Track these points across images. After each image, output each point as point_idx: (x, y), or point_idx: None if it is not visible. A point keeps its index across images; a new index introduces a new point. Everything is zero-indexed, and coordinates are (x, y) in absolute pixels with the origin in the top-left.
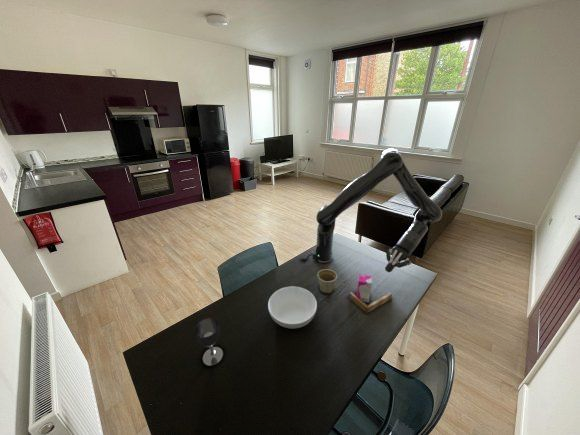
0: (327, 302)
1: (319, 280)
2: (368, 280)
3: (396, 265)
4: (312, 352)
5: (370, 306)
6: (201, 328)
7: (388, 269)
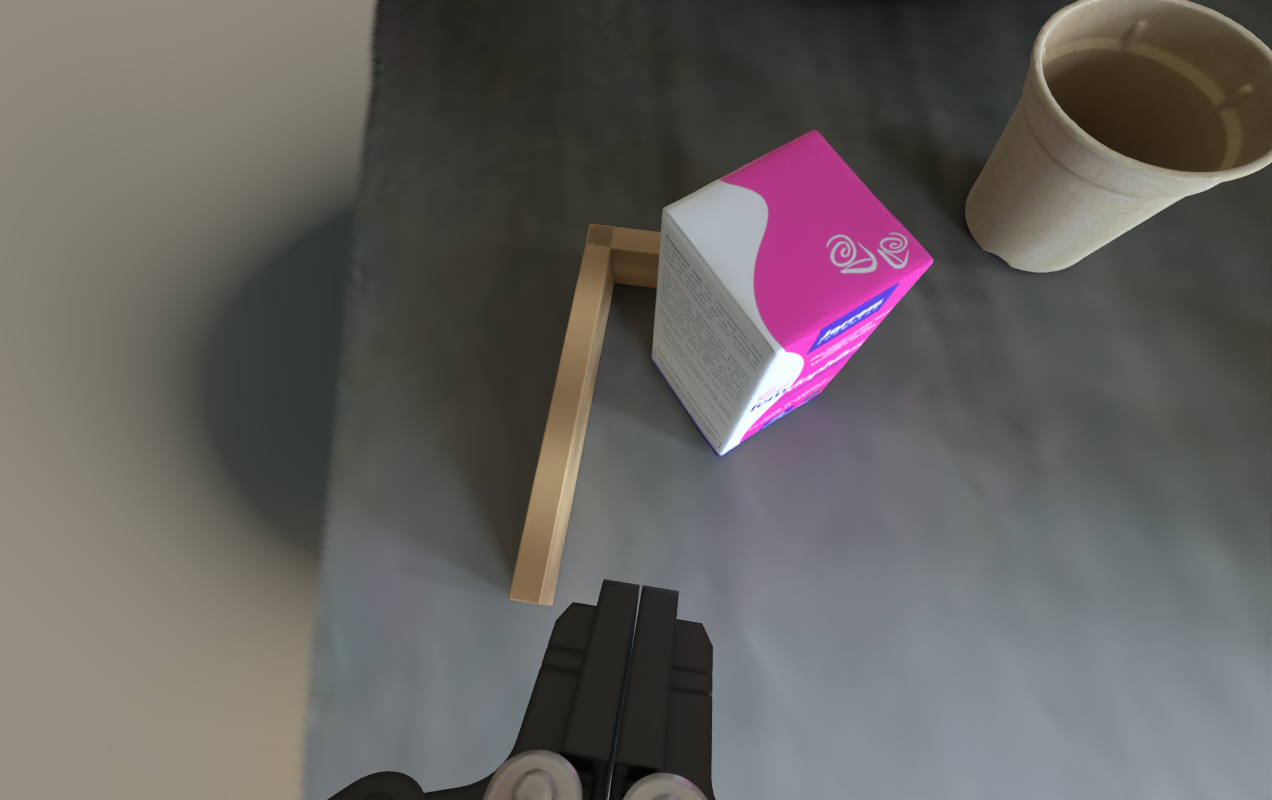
0: (881, 129)
1: (1133, 63)
2: (737, 226)
3: (406, 778)
4: None
5: (584, 258)
6: None
7: (602, 604)
